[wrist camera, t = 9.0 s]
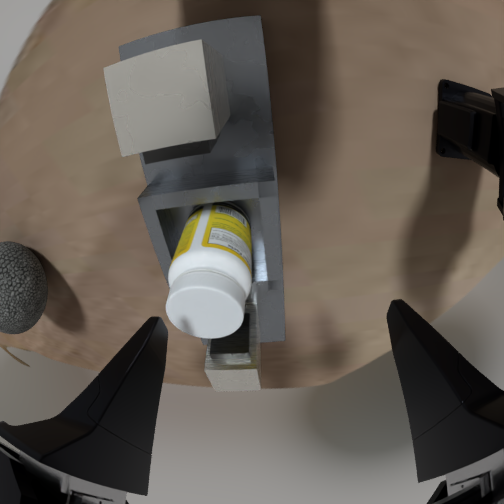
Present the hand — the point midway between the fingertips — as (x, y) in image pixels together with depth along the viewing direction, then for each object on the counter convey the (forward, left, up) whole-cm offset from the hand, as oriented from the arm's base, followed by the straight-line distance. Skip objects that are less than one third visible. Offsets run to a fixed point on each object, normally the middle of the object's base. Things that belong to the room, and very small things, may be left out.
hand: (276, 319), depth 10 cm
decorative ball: (+28, +4, -12) cm, 31 cm away
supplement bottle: (+4, +2, -11) cm, 12 cm away
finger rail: (+4, +2, -12) cm, 13 cm away
